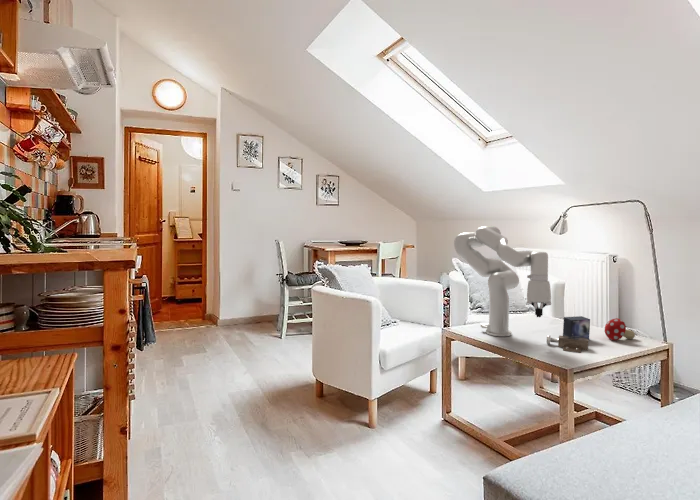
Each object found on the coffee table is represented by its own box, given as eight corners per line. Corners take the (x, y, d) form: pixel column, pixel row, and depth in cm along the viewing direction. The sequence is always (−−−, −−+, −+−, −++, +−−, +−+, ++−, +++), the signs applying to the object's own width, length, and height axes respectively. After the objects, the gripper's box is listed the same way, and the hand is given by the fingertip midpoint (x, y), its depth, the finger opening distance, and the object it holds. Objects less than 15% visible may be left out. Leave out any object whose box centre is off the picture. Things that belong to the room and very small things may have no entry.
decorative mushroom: (636, 320, 223) (611, 311, 221) (647, 337, 214) (621, 327, 212) (620, 334, 229) (595, 325, 227) (630, 351, 220) (604, 342, 218)
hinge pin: (546, 344, 211) (546, 336, 211) (547, 342, 215) (547, 334, 214) (578, 348, 204) (579, 340, 204) (579, 346, 208) (579, 338, 208)
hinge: (556, 349, 204) (557, 340, 204) (560, 341, 217) (560, 332, 217) (586, 353, 198) (587, 343, 198) (588, 345, 211) (589, 336, 210)
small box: (570, 341, 218) (571, 319, 217) (562, 337, 224) (562, 316, 223) (590, 340, 220) (590, 318, 219) (580, 336, 226) (581, 315, 226)
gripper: (520, 278, 213) (520, 316, 214) (555, 279, 206) (555, 319, 207) (523, 276, 220) (523, 314, 221) (557, 278, 212) (557, 316, 213)
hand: (538, 316), depth 214 cm, fingers closed
